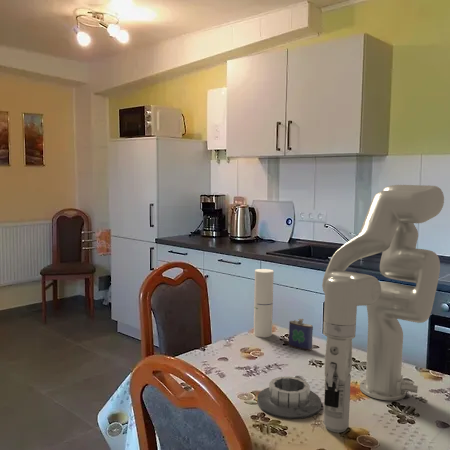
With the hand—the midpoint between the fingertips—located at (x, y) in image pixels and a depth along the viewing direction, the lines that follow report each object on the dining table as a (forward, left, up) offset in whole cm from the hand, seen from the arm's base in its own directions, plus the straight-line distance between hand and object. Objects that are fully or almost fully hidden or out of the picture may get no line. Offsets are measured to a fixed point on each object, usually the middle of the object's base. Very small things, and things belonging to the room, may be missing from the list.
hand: (335, 398), depth 116 cm
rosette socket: (+14, -8, -8) cm, 18 cm away
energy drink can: (0, -1, -8) cm, 8 cm away
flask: (+23, -51, -8) cm, 56 cm away
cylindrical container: (+40, -59, -8) cm, 71 cm away
